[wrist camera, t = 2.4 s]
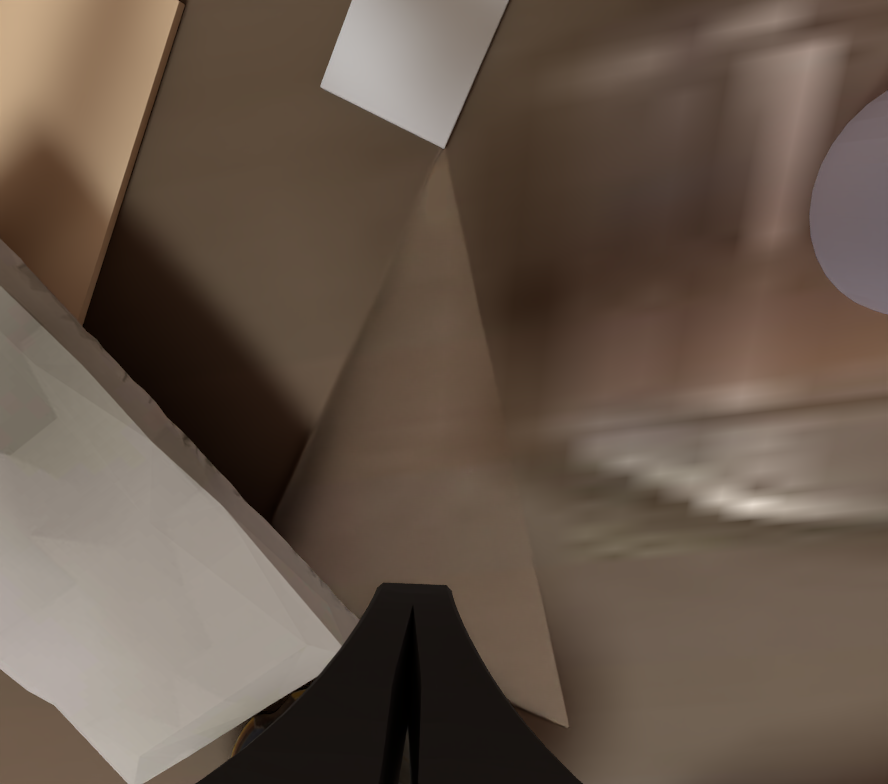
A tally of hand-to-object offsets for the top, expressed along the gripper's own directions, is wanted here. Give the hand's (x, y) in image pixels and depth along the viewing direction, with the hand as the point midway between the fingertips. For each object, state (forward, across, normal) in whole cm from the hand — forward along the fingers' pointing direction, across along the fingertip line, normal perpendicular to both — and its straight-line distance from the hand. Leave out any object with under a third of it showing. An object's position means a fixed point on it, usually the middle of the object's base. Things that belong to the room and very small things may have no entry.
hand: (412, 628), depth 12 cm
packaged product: (+8, +7, -2) cm, 11 cm away
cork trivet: (+11, +14, -5) cm, 18 cm away
